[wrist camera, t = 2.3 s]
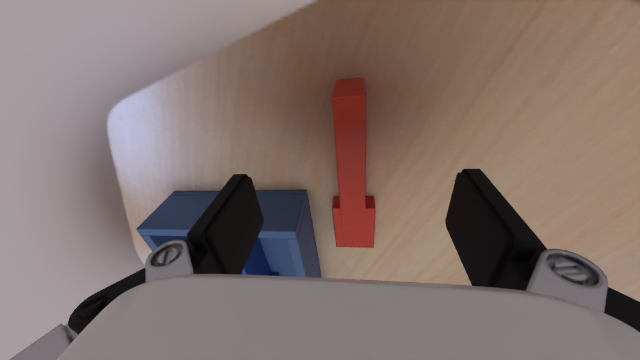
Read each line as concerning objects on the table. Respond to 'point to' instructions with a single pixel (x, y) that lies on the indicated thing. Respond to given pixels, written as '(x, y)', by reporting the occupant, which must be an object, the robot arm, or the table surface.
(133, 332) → the robot arm
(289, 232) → the blue bin
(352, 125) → the red wooden stick
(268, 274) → the blue block-headed bar
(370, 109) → the table surface
